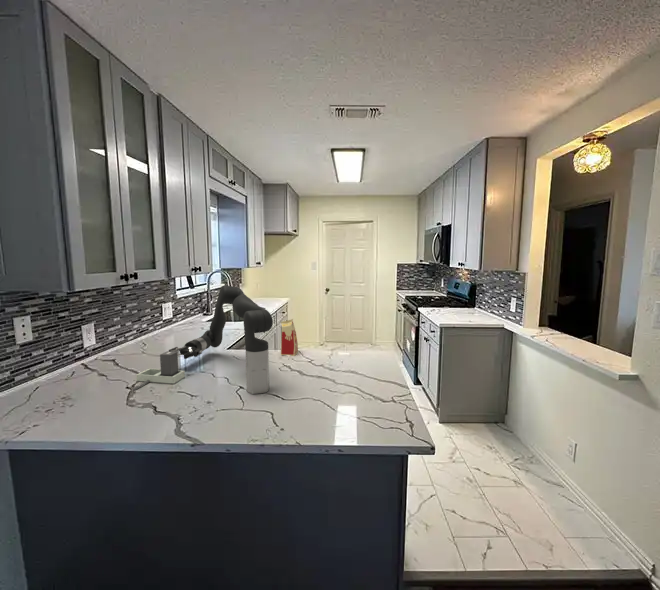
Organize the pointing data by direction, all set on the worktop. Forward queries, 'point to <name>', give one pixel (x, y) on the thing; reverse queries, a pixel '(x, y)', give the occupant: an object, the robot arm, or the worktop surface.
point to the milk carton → (289, 339)
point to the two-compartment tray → (157, 377)
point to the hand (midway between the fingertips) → (176, 356)
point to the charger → (169, 363)
